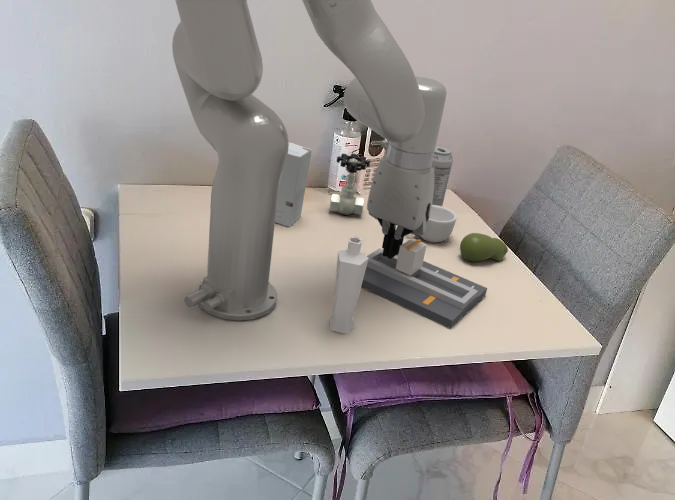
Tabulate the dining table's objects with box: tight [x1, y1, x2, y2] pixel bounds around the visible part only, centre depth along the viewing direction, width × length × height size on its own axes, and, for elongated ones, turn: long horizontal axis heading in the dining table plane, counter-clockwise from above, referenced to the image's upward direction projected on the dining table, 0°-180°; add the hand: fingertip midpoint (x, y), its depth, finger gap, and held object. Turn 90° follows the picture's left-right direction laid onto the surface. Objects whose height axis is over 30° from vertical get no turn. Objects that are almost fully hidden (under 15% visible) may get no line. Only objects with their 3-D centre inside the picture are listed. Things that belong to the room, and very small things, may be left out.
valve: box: [329, 153, 371, 216], centre depth 138 cm, size 7×7×12 cm
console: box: [361, 247, 488, 329], centre depth 118 cm, size 14×20×3 cm
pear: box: [459, 232, 509, 263], centre depth 131 cm, size 6×5×10 cm
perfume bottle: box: [329, 236, 369, 335], centre depth 102 cm, size 5×4×15 cm
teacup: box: [418, 205, 458, 243], centre depth 135 cm, size 10×8×5 cm
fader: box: [396, 237, 428, 277], centre depth 117 cm, size 4×3×6 cm
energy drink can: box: [431, 144, 454, 207], centre depth 142 cm, size 6×6×15 cm
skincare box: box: [275, 142, 313, 227], centre depth 132 cm, size 8×6×15 cm
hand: (390, 254), depth 119 cm, fingers closed
